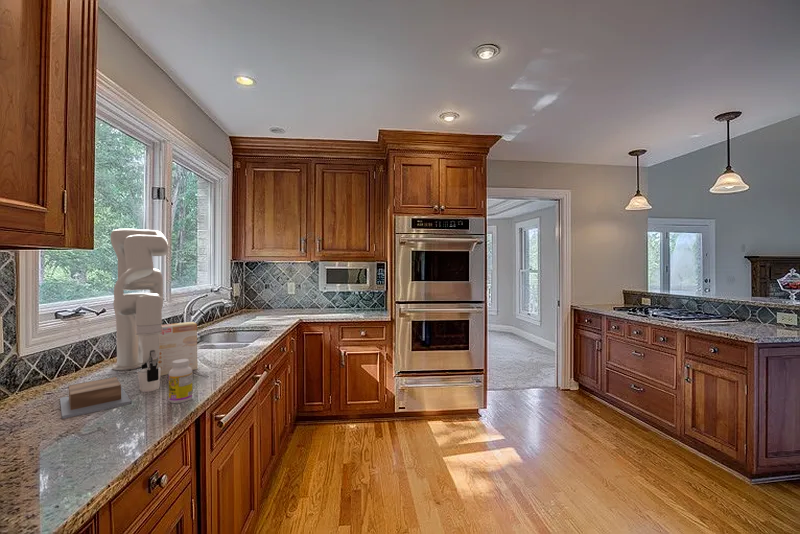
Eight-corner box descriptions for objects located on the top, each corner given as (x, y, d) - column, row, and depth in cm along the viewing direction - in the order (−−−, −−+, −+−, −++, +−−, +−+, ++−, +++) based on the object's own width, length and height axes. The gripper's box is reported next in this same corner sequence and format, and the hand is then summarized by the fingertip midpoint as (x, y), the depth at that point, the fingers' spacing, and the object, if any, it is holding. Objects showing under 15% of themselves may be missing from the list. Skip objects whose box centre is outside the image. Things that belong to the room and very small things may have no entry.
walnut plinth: (68, 399, 116) (68, 385, 116) (116, 390, 124) (115, 376, 124) (70, 410, 107) (70, 394, 107) (121, 399, 116) (121, 385, 116)
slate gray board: (60, 400, 117) (59, 397, 117) (121, 388, 128) (121, 386, 128) (61, 418, 103) (61, 416, 103) (131, 403, 114) (131, 401, 114)
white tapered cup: (166, 385, 131) (165, 366, 131) (151, 392, 124) (150, 372, 124) (148, 385, 131) (148, 366, 131) (132, 392, 124) (132, 371, 124)
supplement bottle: (166, 400, 117) (165, 360, 117) (188, 394, 122) (188, 356, 121) (172, 405, 112) (171, 364, 112) (195, 399, 117) (195, 360, 117)
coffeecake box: (193, 365, 156) (193, 321, 156) (198, 369, 151) (197, 323, 151) (152, 373, 146) (151, 325, 146) (155, 377, 141) (154, 327, 141)
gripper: (131, 328, 131) (132, 375, 131) (140, 333, 118) (141, 385, 118) (156, 325, 136) (157, 371, 136) (167, 330, 124) (168, 380, 124)
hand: (149, 377), depth 127 cm, fingers open, 9 cm apart
